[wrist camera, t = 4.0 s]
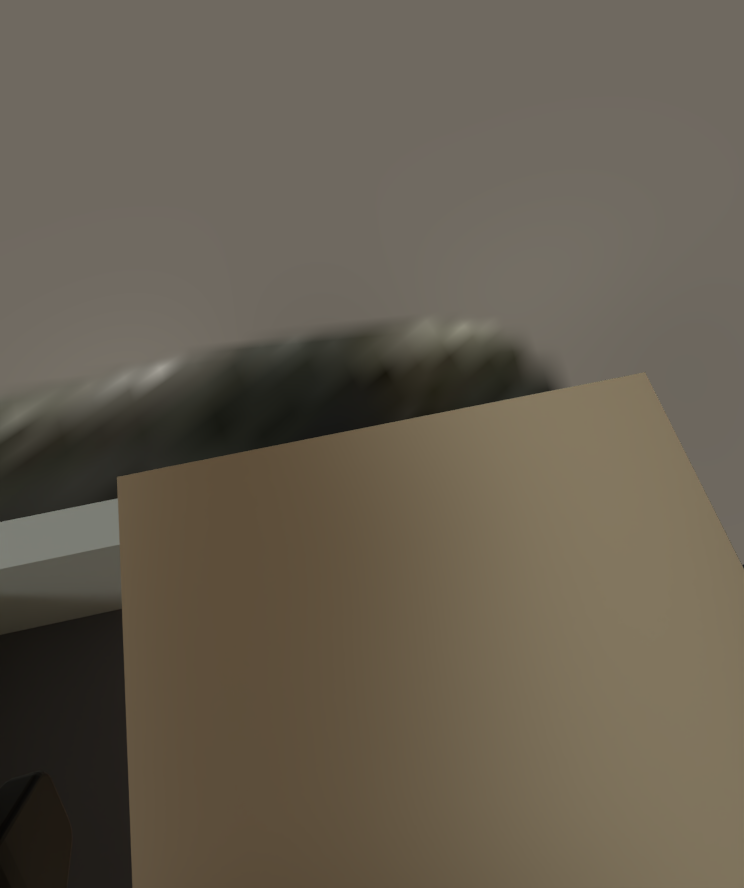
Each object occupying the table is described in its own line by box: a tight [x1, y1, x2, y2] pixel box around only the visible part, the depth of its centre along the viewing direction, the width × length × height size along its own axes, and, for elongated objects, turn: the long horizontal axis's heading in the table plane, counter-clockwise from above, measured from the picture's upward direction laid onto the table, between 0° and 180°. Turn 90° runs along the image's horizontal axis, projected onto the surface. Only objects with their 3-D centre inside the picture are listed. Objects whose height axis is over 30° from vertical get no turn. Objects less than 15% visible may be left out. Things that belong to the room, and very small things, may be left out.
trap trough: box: [0, 499, 132, 888], centre depth 13 cm, size 14×12×4 cm
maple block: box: [117, 372, 744, 888], centre depth 10 cm, size 5×5×11 cm
